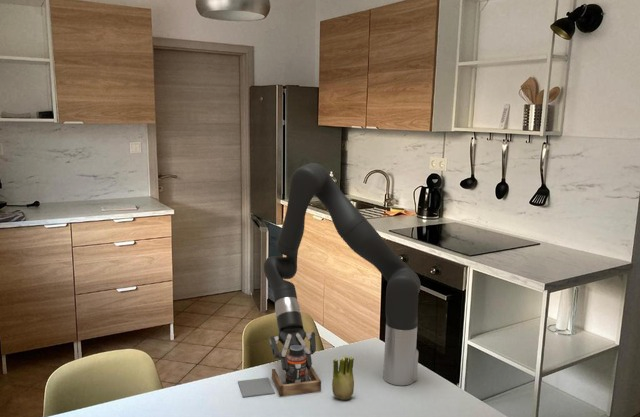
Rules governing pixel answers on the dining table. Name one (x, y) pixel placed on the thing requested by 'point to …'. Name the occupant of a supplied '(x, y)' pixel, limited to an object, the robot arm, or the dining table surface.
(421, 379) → the dining table surface
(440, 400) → the dining table surface
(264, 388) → the slate mat
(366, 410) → the dining table surface
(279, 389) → the walnut stall
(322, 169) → the robot arm
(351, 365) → the fennel bulb
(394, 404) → the dining table surface
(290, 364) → the supplement bottle
